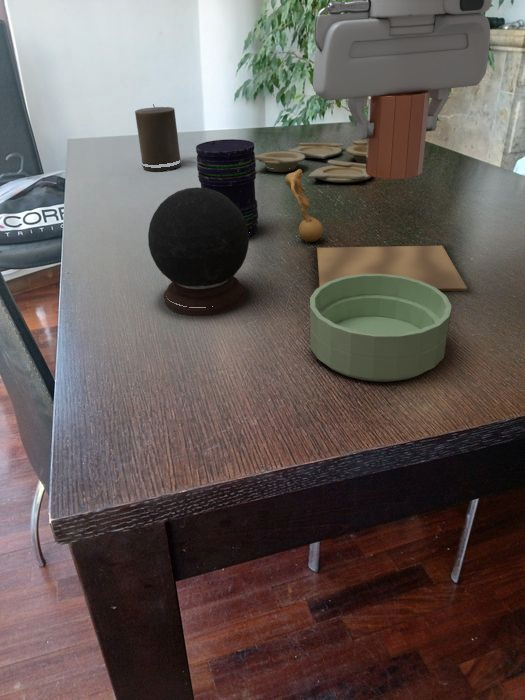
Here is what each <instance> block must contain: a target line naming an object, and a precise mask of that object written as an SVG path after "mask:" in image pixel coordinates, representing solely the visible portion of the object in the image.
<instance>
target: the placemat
mask: <svg viewBox="0 0 525 700" xmlns="http://www.w3.org/2000/svg"><path fill="white" fill-rule="evenodd" d="M316 256H317V270H318V283H319V285H318V287H320V286H322V285H323V284H325V283H327V282H329V281H332V280H335V279H338V278H341V277H346V276H352V275H359V274H388V275H397V276H403V277H407V278H411V279H415V280H419V281H422V282H424V283H426V284H429V285H431V286H433V287H435V288H437V289H438V290H439V291H441V292H467V291H468V286H467V285H466V283H465V282H464V280H463V279H462V277H461V275H460V273H459V271H458V270H457V268H456V266H455V265H454V263H453V261H452V260H451V258H450V256H449V255H448V253H447V251H446V249H445V247H444V246H443V245H401V246H399V245H398V246H397V245H395V246H393V245H391V246H390V245H389V246H346V247H345V246H341V247H340V246H339V247H337V246H336V247H335V246H334V247H332V246H331V247H330V246H329V247H316Z"/></svg>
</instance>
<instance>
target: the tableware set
mask: <svg viewBox="0 0 525 700" xmlns="http://www.w3.org/2000/svg"><path fill="white" fill-rule="evenodd" d="M352 144H353V145H350V146H348V147H346V149H345V152H346V154H348V155H352V156H353V158H354V160H355V162H352V161H344V160H335V159H334V160H333V159H329V158H332V157H335V156H338V155H341V153H342V149H341V148H340V147H343V146H344V145H345V143H344V142H299V143H298V146H297V147H294V148H290V149H287V151H286V150H285V151H284V150H283V151H280V150H279V151H269V152H263V153H261V154H260V153H259V154H258V155H257V154H255V160H257V161H258V162H260V163H262V164H264V165H265V167H266V166H267V167H269V168H267V167H266V168H267V171H269V172H273V173H287V172H288V173H289V172H292V171H294V170H295V169H296V168H297V166H298V163H300V162H303V161H304V160H305V159H311V160H320V159H322V160H325V159H329V160H327V165H326V166H322V167H318V168H316V169H314V171H311V172H309V175H308V178H313V179H317V180H321V181H324V182H327V183H335V184H348V183H356V182H362V181H367V180H369V179H371V178H372V177H373V176H370V175H367V173H366V153H367V140H366V139H358V140H357V139H356V140H353V141H352ZM270 168H274V169H270ZM289 168H290V169H289Z"/></svg>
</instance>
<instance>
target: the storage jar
mask: <svg viewBox="0 0 525 700" xmlns="http://www.w3.org/2000/svg"><path fill="white" fill-rule="evenodd" d="M195 152H196V154H197V155H196V161H197V162H196V169H197V178H198V181H199V184H200V188H208V189H211V190H214V191H217V192H220V193H221V194H223V195H224V196H226V197H227V198H229V199H230V200H231V201H232V202H233V203H234V204H235V205H236V206H237V207H238V208H239V210H240V211H241V213H242V215H243V217H244V219H245V222H246V225H247V228H248V234H249V240H250V239H252V238H254V237H256V236H257V235H258V233H259V227H258V223H259V210H258V200H257V199H256V181H255V180H256V178H257V172H256V167H257V163H256V162H257V161H256V159H255V155H256V153H255V142H254V141H251V140H247V139H239V138H238V139H236V138H235V139H233V138H230V139H226V138H225V139H216V140H210V141H205V142H202V143H201V142H200V143H199V144H197V145H196V146H195ZM249 232H250V233H249Z"/></svg>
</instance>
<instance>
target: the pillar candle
mask: <svg viewBox="0 0 525 700" xmlns="http://www.w3.org/2000/svg"><path fill="white" fill-rule="evenodd" d="M152 106H153V107H145V108H144V107H143V108H139V109H136V110H135V111H134V115H135V123H136V129H137V137H138V142H139V150H140V157H141V166H142V168H143V170H145V171H148V172H165V171H164V170H169V171H172V170H171V169H173V170H175V169H174V168H176V169H178V168H180V167H181V166H182V162H180V163H179V164H177V165H174V166H170V167H161V168H151V167H145V166H143V165H142V163H143V164H148V165H159V164H167V163H173V162H176V161H179V160H180V161H181V153H180V143H179V137H178V136H179V135H178V127H177V119H176V110H175V108H174V107H172V106H155V104H152Z"/></svg>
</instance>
